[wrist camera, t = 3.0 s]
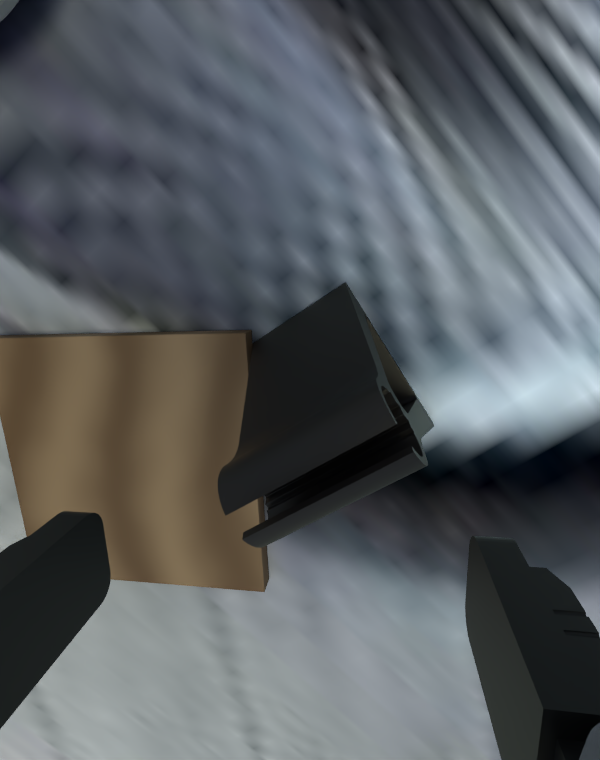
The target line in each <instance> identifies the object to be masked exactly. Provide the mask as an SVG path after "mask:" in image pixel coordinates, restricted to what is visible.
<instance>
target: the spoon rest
mask: <svg viewBox="0 0 600 760" xmlns="http://www.w3.org/2000/svg"><path fill="white" fill-rule="evenodd" d="M18 1H19V0H0V22H1V21H2V20H3V19H4V18H5V17H6V16H7V15H8V14H9V13H10V12H11V11H12V9H13V8H14V7H15V5H16V4H17V3H18Z"/></svg>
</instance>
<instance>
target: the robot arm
mask: <svg viewBox="0 0 600 760" xmlns="http://www.w3.org/2000/svg"><path fill="white" fill-rule="evenodd" d="M110 579H111V572H110V565H109V558H108V552H107V545H106V539H105V532H104V526H103V521H102V518H101V517H100V515H99V514H97V513H90V512H73V511H63V512H60V513H59V514H57V515H56V516H54V517H53V518H52V519H51V520H49V521H48V522H47V523H45V524H44V525H43V526H42V527H40V528H39V529H38V530H36V531H35V532H34V533H33V534H31V535H30V536H28V537H26V538H24V539H22V540H20V541H18V542H16V543H14V544H12V545H10V546H8V547H7V548H6V549H5V550H3V551H2V552H1V553H0V729H1V727H2V726H3V725H4V724H5V722H6V721H7V720H8V719H9V717H10V716H11V715H12V714H13V713H14V711H15V710H16V709H17V708H18V706H19V705H20V704H21V703H22V701H23V700H24V699H25V698H26V696H27V695H28V694H29V693H30V691H31V690H32V689H33V688H34V687H35V685H36V684H37V683H38V682H39V680H40V679H41V678H42V677H43V675H44V674H45V673H46V672H47V670H48V669H49V668H50V667H51V665H52V664H53V663H54V662H55V660H56V659H57V658H58V657H59V656H60V654H61V653H62V652H63V651H64V649H65V648H66V647H67V646H68V644H69V643H70V642H71V641H72V639H73V638H74V637H75V636H76V634H77V633H78V632H79V631H80V630H81V628H82V627H83V626H84V625H85V623H86V622H87V621H88V620H89V618H90V617H91V616H92V615H93V613H94V612H95V611H96V610H97V608H98V607H99V606H100V605H101V603H102V602H103V600H104V599H105V597H106V594H107V592H108V589H109V585H110ZM465 612H466V624H467V631H468V637H469V641H470V645H471V648H472V652H473V656H474V659H475V663H476V667H477V670H478V674H479V678H480V682H481V685H482V689H483V693H484V696H485V700H486V704H487V708H488V711H489V715H490V719H491V722H492V726H493V730H494V733H495V737H496V741H497V745H498V748H499V752H500V756H501V759H502V760H600V637H599V632H598V631H597V629H596V628H595V626H594V625H593V623H592V621H591V620H590V618H589V617H586V612H585V610H584V609H583V607H582V606H581V604H580V602H579V601H578V599H577V598H576V596H575V595H574V593H573V591H572V590H571V588H570V587H568V586H567V585H566V584H565V583H564V582H562V581H561V580H560V579H559V578H558V577H556V576H555V575H554V574H553V573H552V572H550V571H549V570H548V569H547V568H539V567H529V566H528V564H527V562H526V560H525V558H524V556H523V554H522V553H521V551H520V549H519V547H518V545H517V543H516V542H515V540H514V539H512V538H499V537H482V536H472V537H471V539H470V544H469V557H468V572H467V587H466V602H465Z"/></svg>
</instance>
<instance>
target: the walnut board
mask: <svg viewBox="0 0 600 760" xmlns="http://www.w3.org/2000/svg"><path fill="white" fill-rule="evenodd" d="M252 347H253V345H252V331H251V330H225V331H180V332H135V333H89V334H44V335H0V417H1V421H2V426H3V430H4V435H5V440H6V444H7V449H8V453H9V458H10V462H11V467H12V471H13V476H14V480H15V485H16V489H17V494H18V499H19V503H20V508H21V512H22V517H23V521H24V526H25V530H26V535H27V537H28V536H30V535H31V534H33V533H34V532H35V531H36V530H38V529H39V528H40V527H42V526H43V525H44V524H45V523H47V522H48V521H49V520H51V519H52V518H53V517H54V516H56V515H57V514H59V513H60V512H63V511H73V512H90V513H97V514H99V515H100V517H101V518H102V521H103V526H104V532H105V539H106V545H107V552H108V558H109V565H110V572H111V579H114V580H126V581H138V582H150V583H163V584H175V585H187V586H199V587H211V588H223V589H235V590H247V591H259V592H265V589H266V586H267V583H268V580H269V572H268V558H267V545H266V546H264V547H261V548H257V547H253V546H251V545H249V544H247V543H246V542H245V541H243V540H242V538H243V532H245V531H247V530H249V529H251V528H253V527H254V526H256V525H258V524H260V523H262V522H264V521H265V515H264V501H263V496H262V497H260V498H258V499H256V500H254V501H253V502H251V503H249V504H247V505H245V506H243V507H241V508H239V509H238V510H236V511H234V512H232V513H230V514H228V515H226V516H225V514H224V512H223V509H222V506H221V503H220V499H219V494H218V477H219V473H220V471H221V469H222V468H223V467H224V466H225V465H226V464H228V463H229V462H230V461H231V460H232V459H233V458H234V456H235V454H236V452H237V449H238V445H239V439H240V432H241V425H242V418H243V411H244V403H245V396H246V389H247V382H248V375H249V368H250V361H251V354H252Z"/></svg>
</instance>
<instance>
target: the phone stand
mask: <svg viewBox="0 0 600 760" xmlns="http://www.w3.org/2000/svg"><path fill="white" fill-rule="evenodd" d="M433 427H434V424H433V422H432V421H431V419H430V417H429V416H428V414H427V412H426V411H425V409H424V408H423V406H422V404H421V403H420V401H419V399H418V398H417V396H416V395H415V393H414V391H413V390H412V388H411V387H410V385H409V383H408V382H407V380H406V378H405V377H404V375H403V374H402V372H401V370H400V369H399V367H398V366H397V364H396V362H395V361H394V359H393V358H392V356H391V355H390V353H389V351H388V349H387V348H386V346H385V345H384V343H383V341H382V340H381V338H380V337H379V335H378V333H377V332H376V330H375V329H374V327H373V325H372V324H371V322H370V320H369V319H368V317H367V316H366V314H365V312H364V311H363V309H362V308H361V306H360V304H359V303H358V301H357V300H356V298H355V296H354V295H353V293H352V291H351V290H350V288H349V287H348V285H347V284H346V283H344V284H342V285H341V286H339V287H338V288H336V289H335V290H333V291H332V292H330V293H329V294H327V295H326V296H324V297H323V298H321V299H320V300H318V301H317V302H315V303H313V304H312V305H310V306H309V307H307V308H306V309H304V310H303V311H301V312H300V313H298V314H297V315H295V316H294V317H292V318H291V319H289V320H288V321H286V322H285V323H283V324H282V325H280V326H279V327H277V328H276V329H274V330H272V331H271V332H269V333H268V334H266V335H265V336H263V337H262V338H260V339H259V340H257V341H256V342H254V343H253V347H252V354H251V361H250V368H249V375H248V382H247V389H246V396H245V403H244V411H243V418H242V425H241V432H240V439H239V445H238V449H237V452H236V454H235V456H234V458H233V459H232V460H231V461H230V462H229V463H228V464H226V465H225V466H224V467H223V468H222V469H221V471H220V473H219V477H218V494H219V499H220V503H221V506H222V509H223V512H224V514H225V516H226V515H228V514H230V513H232V512H234V511H236V510H238V509H239V508H241V507H243V506H245V505H247V504H249V503H251V502H253V501H254V500H256V499H258V498H260V497H262V496H264V495H265V496H266V506H267V507H268V510H267V512H268V520H266V521H264V522H262V523H260V524H258V525H256V526H254V527H253V528H251V529H249V530H247V531H245V532H243V538H242V540H243V541H245V542H246V543H247V544H249V545H251V546H253V547H257V548H261V547H264V546H266V545H268V544H270V543H272V542H275V541H277V540H279V539H281V538H283V537H285V536H287V535H289V534H291V533H293V532H295V531H297V530H299V529H301V528H303V527H305V526H307V525H309V524H311V523H313V522H315V521H317V520H319V519H321V518H323V517H325V516H327V515H329V514H331V513H333V512H335V511H337V510H339V509H341V508H343V507H345V506H347V505H349V504H351V503H353V502H355V501H357V500H359V499H361V498H363V497H365V496H367V495H369V494H371V493H373V492H375V491H377V490H379V489H381V488H383V487H385V486H387V485H389V484H391V483H393V482H395V481H397V480H399V479H401V478H403V477H405V476H407V475H409V474H412V473H414V472H416V471H418V470H420V469H422V468H424V467H426V466H427V465H428V462H427V458H426V455H425V452H424V450H423V446H422V442H421V438H422V437H423V436H424V435H425V434H426V433H427V432H428V431H429V430H430V429H432V428H433Z"/></svg>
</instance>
